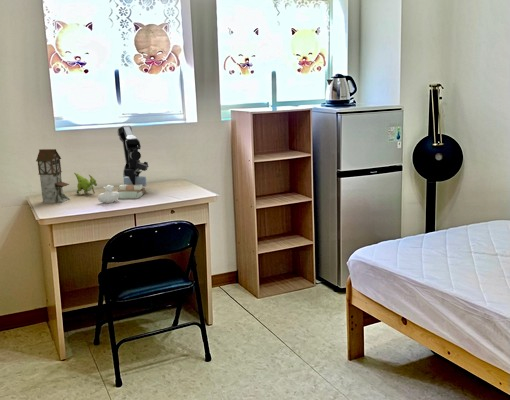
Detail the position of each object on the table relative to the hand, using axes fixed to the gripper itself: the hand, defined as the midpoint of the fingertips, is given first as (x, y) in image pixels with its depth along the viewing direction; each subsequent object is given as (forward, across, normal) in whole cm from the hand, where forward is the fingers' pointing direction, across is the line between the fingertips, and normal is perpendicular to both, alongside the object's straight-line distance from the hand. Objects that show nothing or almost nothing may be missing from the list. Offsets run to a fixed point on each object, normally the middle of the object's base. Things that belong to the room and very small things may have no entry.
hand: (135, 183), depth 338 cm
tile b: (+2, -8, 0) cm, 8 cm away
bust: (+5, -31, +4) cm, 31 cm away
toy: (+5, -7, +29) cm, 30 cm away
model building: (+5, -27, +38) cm, 47 cm away
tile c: (+2, -8, -4) cm, 9 cm away
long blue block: (+1, 0, 0) cm, 1 cm away
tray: (+5, -16, 0) cm, 17 cm away
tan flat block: (+5, -8, 0) cm, 9 cm away
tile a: (+2, -8, +4) cm, 9 cm away
